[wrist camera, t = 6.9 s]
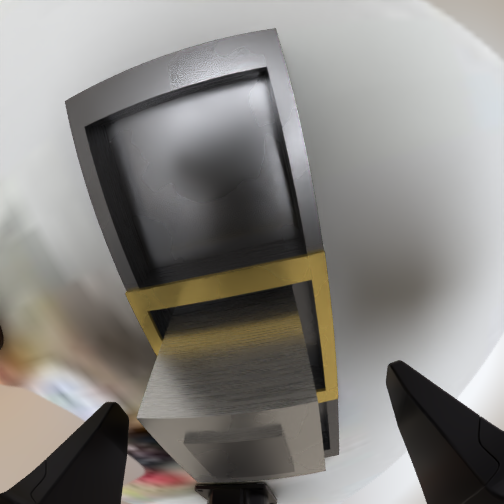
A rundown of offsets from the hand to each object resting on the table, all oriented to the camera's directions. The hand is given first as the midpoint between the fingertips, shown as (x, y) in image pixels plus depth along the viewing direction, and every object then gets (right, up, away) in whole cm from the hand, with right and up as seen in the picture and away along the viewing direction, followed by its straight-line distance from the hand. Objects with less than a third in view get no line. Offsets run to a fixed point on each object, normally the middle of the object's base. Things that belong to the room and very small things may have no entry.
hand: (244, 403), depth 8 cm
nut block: (0, +1, +3) cm, 4 cm away
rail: (0, +2, +4) cm, 4 cm away
